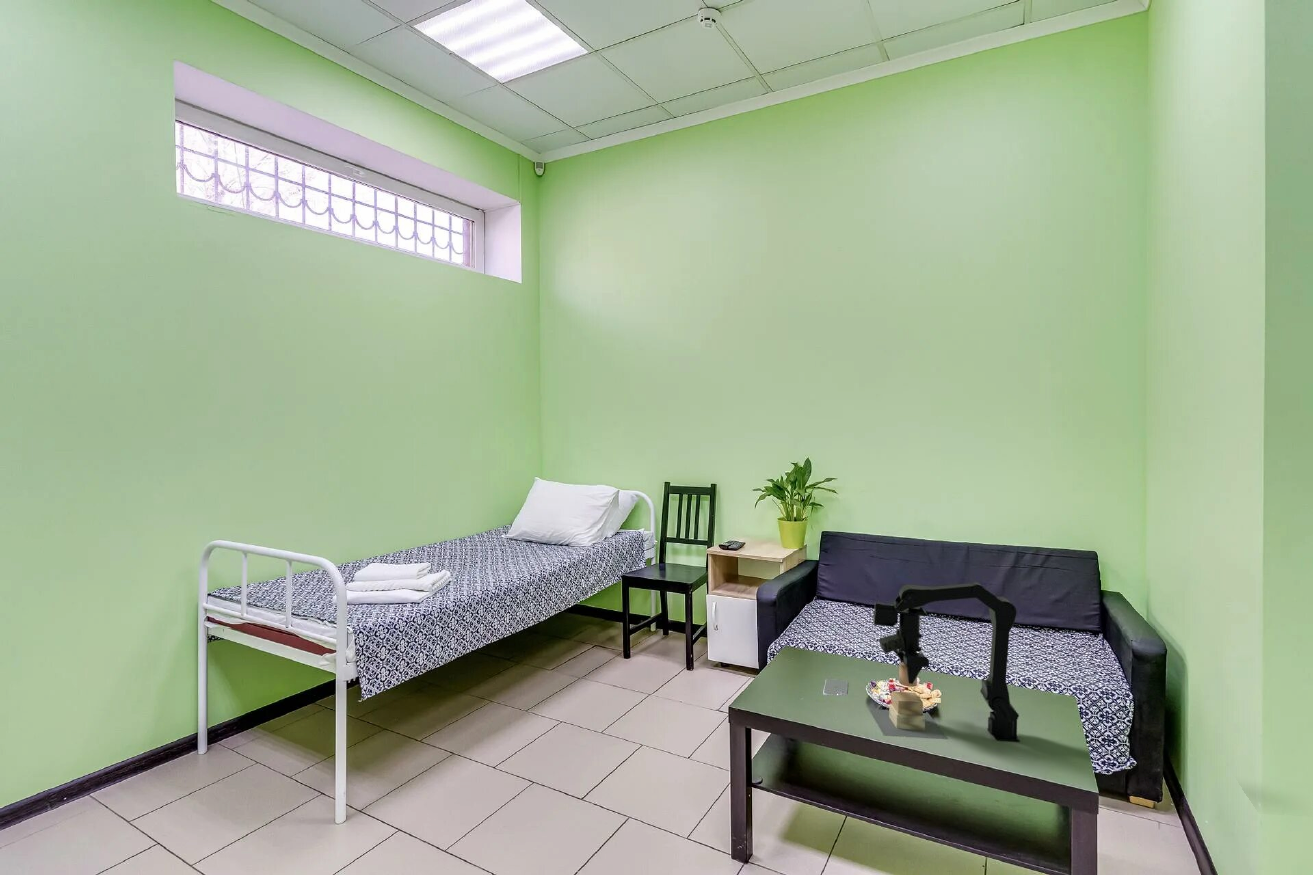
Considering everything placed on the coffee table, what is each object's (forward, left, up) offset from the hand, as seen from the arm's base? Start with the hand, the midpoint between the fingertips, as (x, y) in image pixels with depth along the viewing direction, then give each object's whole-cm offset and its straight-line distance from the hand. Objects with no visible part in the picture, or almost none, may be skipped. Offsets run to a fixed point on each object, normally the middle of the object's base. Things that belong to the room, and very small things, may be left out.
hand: (908, 680), depth 188 cm
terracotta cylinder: (0, 0, -1) cm, 1 cm away
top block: (0, 0, -9) cm, 9 cm away
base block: (0, 0, -13) cm, 13 cm away
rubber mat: (0, 0, -13) cm, 13 cm away
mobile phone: (+16, -26, -14) cm, 34 cm away
